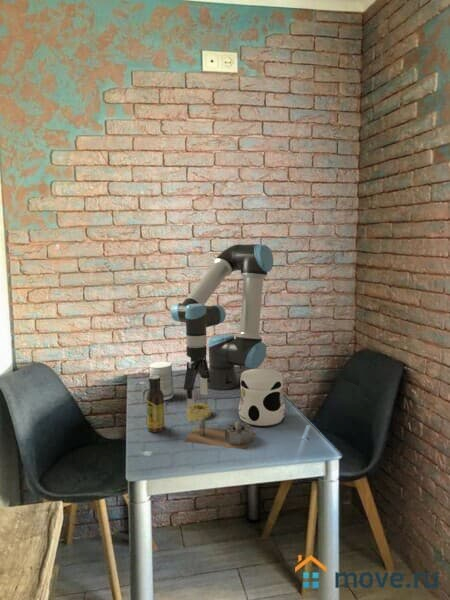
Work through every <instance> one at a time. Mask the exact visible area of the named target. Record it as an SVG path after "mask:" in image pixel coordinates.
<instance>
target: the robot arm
mask: <svg viewBox="0 0 450 600" xmlns="http://www.w3.org/2000/svg"><path fill="white" fill-rule="evenodd" d="M273 267H274V255H273V251H272V250H271V248H270V247H269V246H268V245H266V244H260V243H259V244H258V243H256V244H255V243H253V244H239V243H238V244H234V245H232V246H231V245H230V246H229V247H227V248H226V249H224V250H223V251H222V252H221V253H220V254H218V255H217V256H216V257H215V259H214V260H213V262H212V266H211V267H210V268H209V270H208V271H207V273H205V275H203V277H202V278H201V279H200V281H199V282H198V283H197V284H196V286H195V287H194V288H193V289H192V290H191V292H190V293H189V295H187V296H186V298H184V299H185V300H183V302H182V303H181V302H178V303H174V305H172V307H171V310H170V315H171V318H172V320H173V321H175V322H177V323H178V322H179V323H183V324H184V323H185V329H186V330H185V339H186V340H185V341H186V342H185V343H186V345H187V346H186V347H185V348H186V349H185V350H186V356H187V357H188V358H190V362H189V361H187V362H186V371H185V376H184V378H185V379H184V385H183V390H184V391H186V408H187V407H195V389H194V386H195V383H196V379H197V374H199V376H200V378H199V387H200V388H199V392H200V393H199V394H200V395H201V396H202V395H203V396H204V395H205V396H208V389H212V390H217V391H219V390H221V391H222V390H224V391H225V390H231V389H235V388H237V387H238V386H239V384H240V379H239V376H238V374H237V371H236V367H235V366H237V367H242V368H243V367H244V368H247V369H256V368H259V367H261V365H262V364H263V363H264V361H265V358H266V355H267V347H266V344H265V343H264V342H263V338H262V336H261V335H260V324H261V313H262V312H261V310H262V301H263V300H262V298H263V287H264V280H265V279H266V278H267V276H268V273H269V272H270V271H272V270H273ZM236 271H240V275H241V276H242V277H243V284H242V297H241V307H240V308H241V310H240V322H239V323H240V324H239V332H238V333H237V334H235V335H234V334H231V333H225V334H224V333H223V334H217V335H214V336H212V337H210V338H209V339H208V342H207V328H210V327H213V326H217V325H220V324H222V323H223V322H225V320H226V316H227V313H226V310H225V308H223V306H222V305H219V304H214V305H206V303H207V302H208V300H209V299H210V298H211V297H212V295H213V294H214V293H215V292H216V290H217V289H218V287H219V286H220V285H221V284H222V282H223V281H224V280H225V279H226V277H228V276H230V275H232V273H233V272H236ZM207 343H208V346H206V345H207ZM207 347H208V351H207ZM207 352H208V353H207ZM207 355H208V361H207ZM208 363H209V365H208Z"/></svg>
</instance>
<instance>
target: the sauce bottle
mask: <svg viewBox="0 0 450 600" xmlns="http://www.w3.org/2000/svg"><path fill="white" fill-rule="evenodd" d="M148 382H149V383H148V384H149V386H148V387H149V388H148V392H147V396H146V401H145V402H146V422H147V424H146V426H147V430H148V431H149V432H151V433H158V432H159V433H160V432H162V431H163V430H165V425H166V424H165V400H164V395H163V392H162V391H161V389H160V376H158V375H153V376H150V375H149V377H148Z"/></svg>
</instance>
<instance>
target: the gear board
mask: <svg viewBox="0 0 450 600" xmlns="http://www.w3.org/2000/svg"><path fill="white" fill-rule="evenodd" d="M234 423H235V426H236V431H242V427H241V423H242V421H237V420H236V421H235V422H234ZM256 435H257V433H254V432H252V436H253V439H252V441H251V442H250V444H246V445H242V446H236V445H230V444H228V443H227V442H226V441H225V429H220V428H212V427H206V419H205V418H203V417H201V418H199V420H198V426H195V428H194V429H193V430H192V431H191V432H190V433H189V434H188V435H187V437H186V438H185V439H184V440H183V442H185V443H193V444H199V445H208V446H216V447H223V448H224V447H225V448H232V449H238V450H239V449H240V450H248V449H249V447H250V445H251V443H252V442H253V441H254V438H255V436H256Z"/></svg>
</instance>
